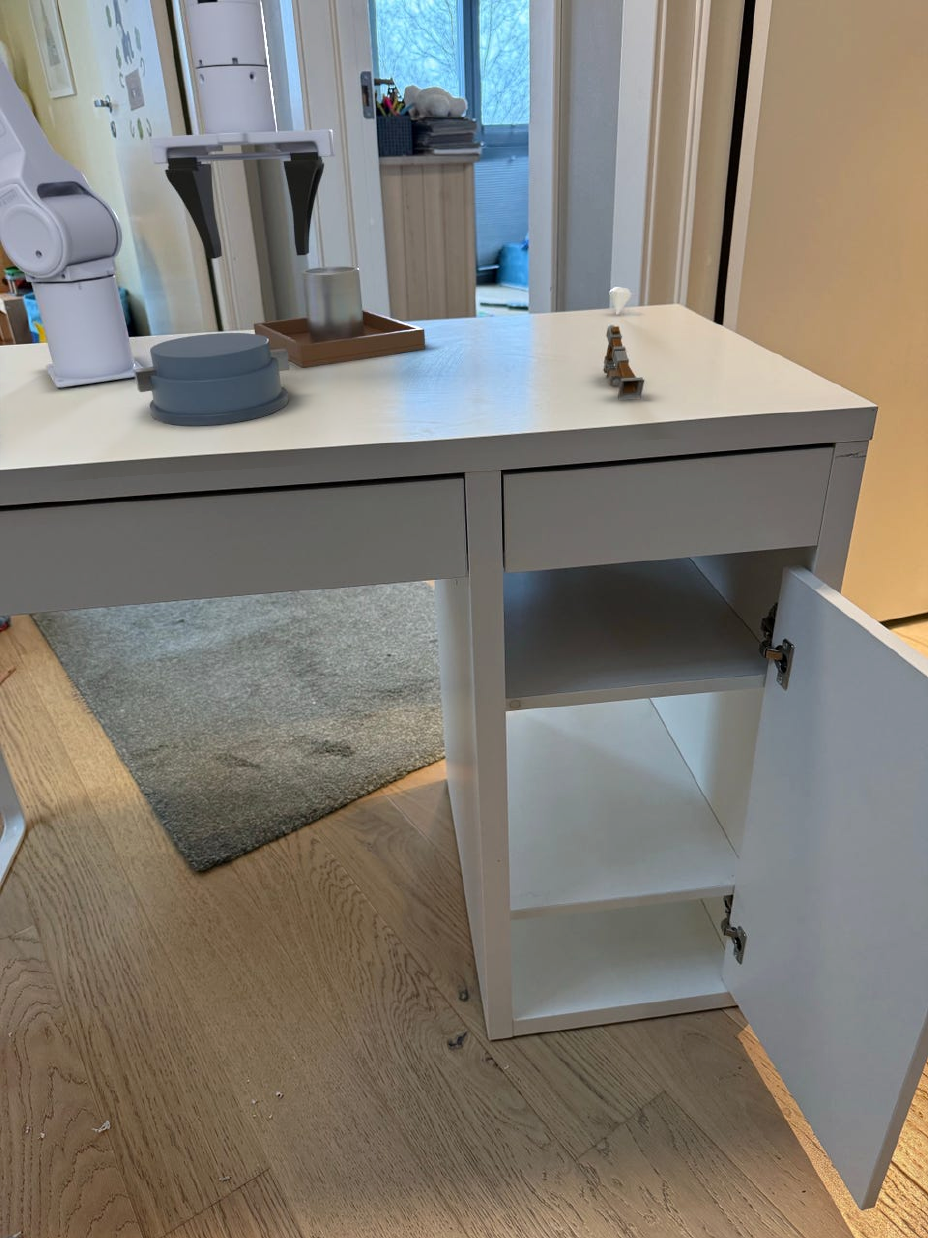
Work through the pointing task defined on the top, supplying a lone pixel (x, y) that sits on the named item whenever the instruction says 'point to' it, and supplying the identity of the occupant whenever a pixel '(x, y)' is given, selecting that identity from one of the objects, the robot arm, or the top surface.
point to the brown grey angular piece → (620, 367)
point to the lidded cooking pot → (214, 379)
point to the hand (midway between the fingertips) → (259, 255)
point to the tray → (342, 340)
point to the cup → (333, 303)
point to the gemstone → (620, 297)
